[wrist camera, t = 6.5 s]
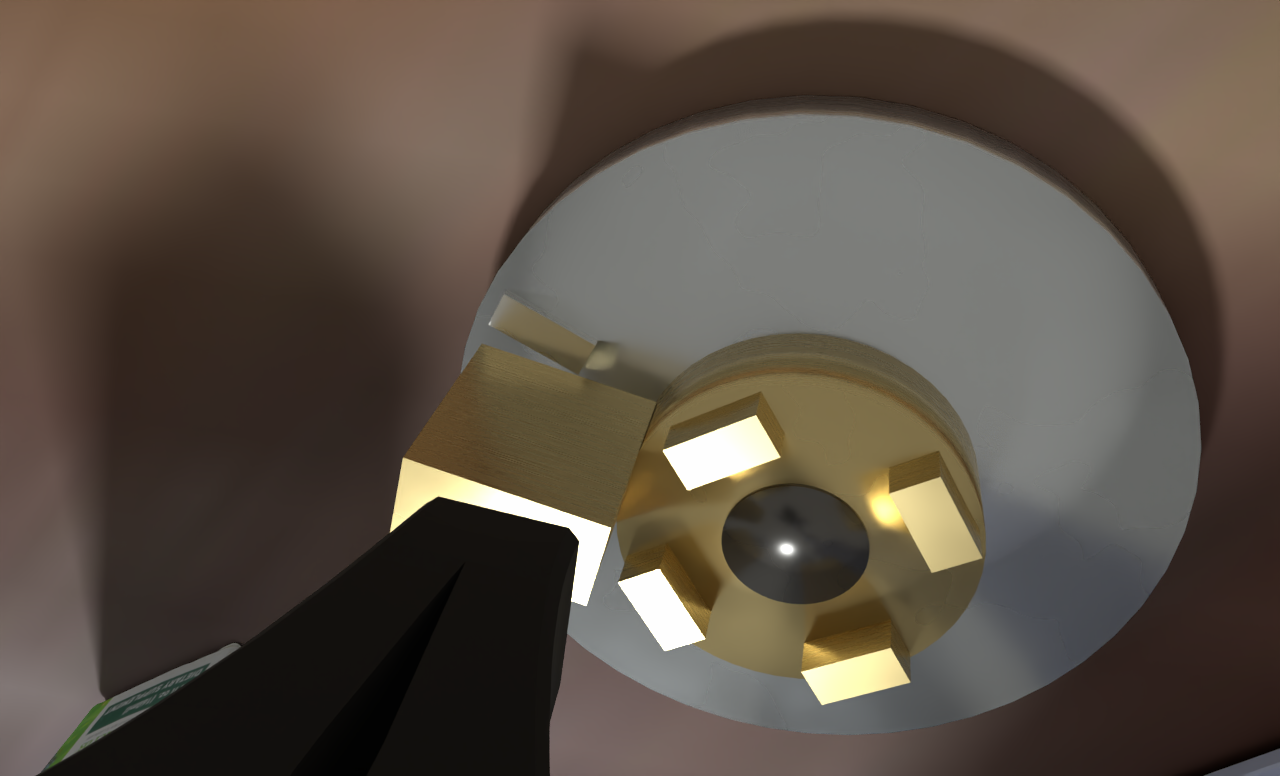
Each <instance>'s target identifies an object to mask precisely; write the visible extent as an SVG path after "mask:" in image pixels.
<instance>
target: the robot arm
mask: <svg viewBox="0 0 1280 776" xmlns="http://www.w3.org/2000/svg"><path fill="white" fill-rule="evenodd" d="M579 543H580V541H579V540H578V538H577V537H576V536H575V534H574V533H573V532H572V530H571V529H570V528H569V527H565V526H560V525H556V524H552V523H548V522H544V521H540V520H535V519H531V518H527V517H523V516H519V515H514V514H510V513H506V512H502V511H498V510H494V509H489V508H485V507H481V506H477V505H473V504H468V503H464V502H460V501H456V500H452V499H448V498H443V497H439V496H438V497H436V498H434V499H433V500H431V501H429V502H427V503H426V504H424V505H423V506H422V507H421V508H420V509H418V510H417V511H416V512H415V513H413V514H412V515H411V516H410V517H409V518H407V519H406V520H405V521H404V522H402V523H401V524H400V525H399V526H398V527H396V528H395V529H394V530H393V531H392V532H390V533H389V534H388V535H387V536H385V537H384V538H383V539H382V540H381V541H379V542H378V543H377V544H376V545H374V546H373V547H372V548H371V549H369V550H368V551H367V552H366V553H364V554H363V555H362V556H361V557H359V558H358V559H357V560H356V561H354V562H353V563H352V564H351V565H349V566H348V567H347V568H345V569H344V570H343V571H342V572H340V573H339V574H338V575H337V576H335V577H334V578H333V579H331V580H330V581H329V582H328V583H326V584H325V585H324V586H322V587H321V588H320V589H318V590H317V591H316V592H314V593H313V594H312V595H310V596H309V597H308V598H306V599H305V600H304V601H302V602H301V603H300V604H298V605H297V606H296V607H294V608H293V609H292V610H290V611H289V612H287V613H286V614H285V615H283V616H282V617H281V618H279V619H278V620H277V621H275V622H274V623H273V624H271V625H270V626H269V627H267V628H266V629H265V630H263V631H262V632H261V633H259V634H258V635H256V636H255V637H254V638H252V639H251V640H249V641H248V642H247V643H245V644H244V645H242V646H241V647H240V648H238V649H237V650H235V651H234V652H232V653H231V654H229V655H228V656H226V657H225V658H223V659H222V660H220V661H219V662H217V663H216V664H214V665H213V666H211V667H210V668H208V669H207V670H205V671H204V672H203V673H201V674H200V675H198V676H197V677H195V678H194V679H192V680H191V681H189V682H188V683H186V684H185V685H183V686H182V687H180V688H179V689H177V690H176V691H174V692H173V693H171V694H170V695H168V696H167V697H165V698H164V699H162V700H161V701H159V702H158V703H156V704H155V705H153V706H152V707H150V708H148V709H147V710H145V711H144V712H142V713H141V714H139V715H137V716H136V717H134V718H132V719H131V720H129V721H128V722H126V723H124V724H123V725H121V726H120V727H118V728H116V729H115V730H113V731H112V732H110V733H108V734H107V735H105V736H103V737H102V738H100V739H98V740H97V741H95V742H93V743H92V744H90V745H88V746H87V747H85V748H83V749H82V750H80V751H78V752H76V753H75V754H73V755H71V756H69V757H68V758H66V759H64V760H62V761H61V762H59V763H57V764H55V765H54V766H52V767H50V768H48V769H47V770H45V771H43V772H41V773H40V774H38V775H36V776H550V764H549V727H550V719H551V716H552V712H553V708H554V705H555V701H556V697H557V694H558V690H559V686H560V681H561V674H562V667H563V659H564V652H565V645H566V637H567V630H568V623H569V616H570V608H571V601H572V594H573V586H574V579H575V572H576V565H577V557H578V550H579ZM1204 776H1280V749H1277V750H1274V751H1271V752H1269V753H1266V754H1263V755H1260V756H1257V757H1255V758H1252V759H1249V760H1246V761H1243V762H1240V763H1238V764H1235V765H1232V766H1229V767H1226V768H1224V769H1221V770H1218V771H1215V772H1212V773H1210V774H1207V775H1204Z"/></svg>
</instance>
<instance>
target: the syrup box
mask: <svg viewBox="0 0 1280 776" xmlns="http://www.w3.org/2000/svg"><path fill="white" fill-rule="evenodd" d="M240 647H241V646H240V645H239V644H237V643H232V644H229V645H227V646H225V647H223V648H221V649H220V650H219V651H218V652H215V653H212V654H210V655H207V656H205V657H202V658H200V659H198V660H196V661H194V662H192V663H188V664H185V665H182V666H180V667H178V668H176V669H173V670H171V671H169V672H167V673H164V674H162V675H160V676H158V677H156V678H154V679H151V680H149V681H147V682H145V683H142V684H140V685H138V686H136V687H134V688H132V689H130V690H128V691H125V692H123V693H121V694H119V695H117V696H114V697H113V698H111V699H109V700H106V701H104V702H102V703H99V704H97V705H95V706H94V707H93V708H92V709H91V710H90V711H89V713H88V714H87V715H86V717H85V718H84V719H83V720H82V722H81V723H80V724H79V726H78V727H77V728H76V729H75V731H74V732H73V733H72V734H71V736H70V737H69V738H68V739H67V741H66V742H65V743H64V744H63V746H62V747H61V748H60V749H59V750H58V752H57V753H56V754H55V755H54V757H53V758H52V759H51V760H50V762H49V763H48V764H47V765H46V767H45V768H44V769H43V770H42V772H43V771H45V770H47V769H48V768H50V767H52V766H54V765H55V764H57V763H59V762H61V761H62V760H64V759H66V758H68V757H69V756H71V755H73V754H75V753H76V752H78V751H80V750H82V749H83V748H85V747H87V746H88V745H90V744H92V743H93V742H95V741H97V740H98V739H100V738H102V737H103V736H105V735H107V734H108V733H110V732H112V731H113V730H115V729H116V728H118V727H120V726H121V725H123V724H124V723H126V722H128V721H129V720H131V719H132V718H134V717H136V716H137V715H139V714H141V713H142V712H144V711H145V710H147V709H148V708H150V707H152V706H153V705H155V704H156V703H158V702H159V701H161V700H162V699H164V698H165V697H167V696H168V695H170V694H171V693H173V692H174V691H176V690H177V689H179V688H180V687H182V686H183V685H185V684H186V683H188V682H189V681H191V680H192V679H194V678H195V677H197V676H198V675H200V674H201V673H203V672H204V671H205V670H207V669H208V668H210V667H211V666H213V665H214V664H216V663H217V662H219V661H220V660H222V659H223V658H225V657H226V656H228V655H229V654H231V653H232V652H234V651H235V650H237V649H238V648H240Z"/></svg>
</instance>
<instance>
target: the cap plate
mask: <svg viewBox="0 0 1280 776" xmlns="http://www.w3.org/2000/svg"><path fill="white" fill-rule="evenodd" d="M799 333H800V334H814V335H826V336H831V337H836V338H842V339H847V340H850V341H854V342H857V343H860V344H863V345H867V346H870V347H872V348H875V349H877V350H879V351H881V352H884V353H886V354H888V355H890V356H893V357H894V358H896V359H898V360H899V361H901V362H903V363H904V364H906V365H908V366H909V367H911V368H913V369H914V370H915V371H917V372H918V373H919V374H920V375H922V376H923V377H924V378H926V379H927V380H928V381H929V382H931V383H932V384H933V385H934V386H935V387H936V388H937V389H938V390H939V392H940V393H941V394H942V395H943V396H944V397H945V398H946V399H947V400H948V401H949V403H950V404H951V406H952V407H953V408H954V410H955V411H956V412H957V414H958V415H959V417H960V418H961V420H962V422H963V424H964V426H965V428H966V430H967V432H968V434H969V436H970V439H971V442H972V445H973V448H974V451H975V454H976V459H977V465H978V471H979V479H980V488H981V496H982V505H983V514H984V522H985V531H986V556H985V562H984V567H983V573H982V576H981V579H980V582H979V585H978V587H977V590H976V592H975V594H974V596H973V598H972V600H971V602H970V603H969V605H968V607H967V609H966V610H965V611H964V613H963V614H962V615H961V616H960V618H959V619H958V620H957V622H956V623H955V624H954V625H953V626H952V627H951V628H950V629H949V630H948V631H947V632H946V633H945V634H944V635H943V636H942V637H941V638H939V639H938V640H937V641H935V642H934V643H933V644H931V645H930V646H928V647H927V648H926V649H924V650H923V651H921V652H919V653H917V654H916V655H914V656H912V657H910V670H911V683H907V684H903V685H899V686H895V687H891V688H887V689H883V690H879V691H875V692H871V693H867V694H863V695H859V696H855V697H851V698H847V699H844V700H840V701H836V702H832V703H828V704H824V705H822V704H821V703H820V701H819V700H818V698H817V696H816V695H815V693H814V692H813V690H812V688H811V687H810V685H809V684H808V682H807V680H806V679H797V678H789V677H781V676H774V675H770V674H765V673H761V672H757V671H753V670H750V669H747V668H743V667H740V666H737V665H734V664H732V663H729V662H727V661H725V660H722V659H720V658H718V657H716V656H713V655H711V654H710V653H708V652H706V651H704V650H702V649H701V648H699V647H697V646H695V645H694V644H692V643H690V644H687V645H683V646H680V647H677V648H673V649H670V650H666V651H664V649H663V648H662V646H661V645H660V643H659V642H658V640H657V639H656V638H655V636H654V635H653V633H652V632H651V630H650V629H649V627H648V626H647V624H646V623H645V621H644V620H643V618H642V617H641V616H640V614H639V613H638V611H637V610H636V608H635V607H634V605H633V604H632V602H631V601H630V599H629V598H628V596H627V595H626V594H625V592H624V591H623V589H622V588H621V586H620V585H619V583H618V581H619V578H620V575H621V572H622V569H623V566H624V560H623V558H622V555H621V551H620V547H619V542H618V537H617V521H616V524H615V527H614V529H613V532H612V535H611V538H610V540H609V543H608V546H607V549H606V552H605V554H604V557H603V560H602V563H601V566H600V568H599V571H598V574H597V577H596V579H595V582H594V585H593V588H592V591H591V593H590V596H589V599H588V602H587V605H583V604H580V603H577V602H574V601H571V608H570V616H569V623H568V630H567V634H569V635H570V636H571V637H572V638H573V639H574V640H576V641H577V642H578V643H579V644H580V645H581V646H583V647H584V648H585V649H587V650H588V651H589V652H591V653H592V654H594V655H595V656H597V657H598V658H600V659H601V660H602V661H604V662H605V663H607V664H608V665H610V666H611V667H613V668H614V669H615V670H617V671H619V672H621V673H622V674H624V675H626V676H628V677H630V678H631V679H633V680H635V681H637V682H639V683H640V684H642V685H644V686H646V687H648V688H649V689H651V690H654V691H656V692H658V693H660V694H663V695H665V696H667V697H670V698H672V699H674V700H676V701H679V702H681V703H683V704H686V705H688V706H691V707H694V708H697V709H700V710H703V711H706V712H709V713H712V714H715V715H718V716H721V717H724V718H728V719H732V720H736V721H740V722H745V723H749V724H753V725H758V726H762V727H766V728H774V729H781V730H788V731H796V732H803V733H816V734H839V735H858V734H878V733H893V732H900V731H907V730H914V729H921V728H928V727H933V726H937V725H941V724H945V723H949V722H953V721H957V720H961V719H965V718H969V717H973V716H976V715H979V714H981V713H984V712H987V711H990V710H992V709H995V708H998V707H1001V706H1003V705H1006V704H1009V703H1012V702H1014V701H1016V700H1018V699H1020V698H1022V697H1024V696H1026V695H1028V694H1030V693H1032V692H1034V691H1036V690H1038V689H1040V688H1042V687H1044V686H1046V685H1048V684H1050V683H1051V682H1053V681H1055V680H1056V679H1058V678H1059V677H1061V676H1062V675H1064V674H1065V673H1067V672H1068V671H1070V670H1072V669H1073V668H1075V667H1076V666H1078V665H1079V664H1081V663H1082V662H1084V661H1085V660H1086V659H1088V658H1089V657H1090V656H1091V655H1092V654H1093V653H1095V652H1096V651H1097V650H1098V649H1099V648H1101V647H1102V646H1103V645H1104V644H1105V643H1107V642H1108V641H1109V640H1110V639H1111V638H1112V637H1114V636H1115V635H1116V634H1117V633H1118V632H1119V631H1120V630H1121V628H1122V627H1123V626H1124V625H1125V624H1126V623H1127V622H1128V621H1129V620H1130V619H1131V617H1132V616H1133V615H1134V614H1135V613H1136V612H1137V611H1138V610H1139V609H1140V608H1141V606H1142V605H1143V604H1144V603H1145V601H1146V600H1147V598H1148V597H1149V595H1150V594H1151V592H1152V591H1153V589H1154V588H1155V587H1156V585H1157V584H1158V582H1159V581H1160V579H1161V578H1162V576H1163V575H1164V573H1165V572H1166V570H1167V568H1168V566H1169V564H1170V562H1171V560H1172V558H1173V556H1174V554H1175V551H1176V549H1177V547H1178V545H1179V543H1180V541H1181V539H1182V537H1183V534H1184V532H1185V529H1186V526H1187V522H1188V519H1189V515H1190V512H1191V508H1192V505H1193V501H1194V498H1195V494H1196V491H1197V482H1198V473H1199V464H1200V455H1201V434H1200V417H1199V403H1198V399H1197V394H1196V390H1195V386H1194V382H1193V377H1192V373H1191V369H1190V365H1189V360H1188V357H1187V355H1186V353H1185V350H1184V348H1183V346H1182V343H1181V341H1180V338H1179V336H1178V334H1177V331H1176V329H1175V327H1174V324H1173V322H1172V319H1171V317H1170V315H1169V313H1168V311H1167V308H1166V306H1165V304H1164V302H1163V300H1162V298H1161V296H1160V294H1159V292H1158V290H1157V288H1156V286H1155V284H1154V282H1153V280H1152V279H1151V277H1150V275H1149V274H1148V272H1147V271H1146V269H1145V267H1144V266H1143V264H1142V263H1141V261H1140V259H1139V258H1138V256H1137V255H1136V253H1135V251H1134V250H1133V248H1132V247H1131V245H1130V243H1129V242H1128V241H1127V240H1126V239H1125V237H1124V236H1123V235H1122V234H1121V233H1120V232H1119V231H1118V229H1117V228H1116V227H1115V226H1114V225H1113V224H1112V222H1111V221H1110V220H1109V219H1108V218H1107V217H1106V216H1105V214H1104V213H1103V212H1102V211H1101V210H1100V209H1099V207H1098V206H1097V205H1096V204H1095V203H1093V202H1092V201H1091V200H1090V199H1089V198H1088V197H1086V196H1085V195H1084V194H1083V193H1082V192H1081V191H1079V190H1078V189H1077V188H1076V187H1075V186H1073V185H1072V184H1071V183H1070V182H1069V181H1068V180H1066V179H1065V178H1064V177H1063V176H1062V175H1061V174H1059V173H1058V172H1057V171H1055V170H1054V169H1052V168H1051V167H1049V166H1047V165H1046V164H1044V163H1043V162H1041V161H1040V160H1038V159H1036V158H1035V157H1033V156H1032V155H1030V154H1028V153H1027V152H1025V151H1024V150H1022V149H1021V148H1019V147H1017V146H1016V145H1014V144H1013V143H1010V142H1008V141H1006V140H1004V139H1002V138H999V137H997V136H995V135H993V134H991V133H988V132H986V131H984V130H982V129H980V128H977V127H975V126H973V125H971V124H969V123H966V122H964V121H961V120H958V119H954V118H951V117H948V116H944V115H941V114H938V113H934V112H931V111H928V110H924V109H921V108H918V107H914V106H910V105H904V104H898V103H892V102H886V101H880V100H874V99H868V98H861V97H845V96H814V95H800V96H790V97H780V98H770V99H759V100H750V101H746V102H742V103H737V104H733V105H729V106H724V107H720V108H716V109H711V110H707V111H703V112H699V113H697V114H694V115H691V116H689V117H686V118H683V119H681V120H678V121H675V122H673V123H670V124H667V125H665V126H662V127H660V128H657V129H654V130H652V131H650V132H649V133H647V134H645V135H643V136H641V137H639V138H637V139H636V140H634V141H632V142H630V143H628V144H626V145H625V146H623V147H621V148H619V149H617V150H615V151H614V152H612V153H610V154H609V155H608V156H606V157H605V158H604V159H602V160H601V161H600V162H598V163H597V164H595V165H594V166H593V167H591V168H590V169H589V170H587V171H586V172H585V173H583V174H582V175H581V176H579V177H578V178H577V179H575V180H574V181H573V182H572V183H571V184H570V185H569V186H568V187H567V188H566V189H565V190H564V191H563V192H562V193H561V194H560V195H559V196H558V197H557V198H556V199H555V200H554V201H553V202H552V203H551V204H550V205H549V206H548V207H547V208H546V209H545V210H544V211H543V212H542V214H541V215H540V216H539V217H538V219H537V220H536V221H535V223H534V224H533V225H532V227H531V228H530V229H529V231H528V232H527V233H526V235H525V236H524V237H523V239H522V240H521V241H520V243H519V244H518V245H517V247H516V248H515V249H514V251H513V252H512V254H511V255H510V256H509V258H508V259H507V260H506V262H505V263H504V264H503V266H502V267H501V268H500V270H499V271H498V273H497V274H496V276H495V278H494V280H493V282H492V284H491V286H490V288H489V290H488V291H487V293H486V295H485V297H484V299H483V301H482V303H481V305H480V307H479V309H478V311H477V314H476V317H475V320H474V323H473V326H472V329H471V332H470V335H469V338H468V341H467V343H466V346H465V352H464V357H463V363H462V369H461V373H462V372H463V370H464V369H465V367H466V366H467V364H468V363H469V361H470V360H471V358H472V357H473V356H474V354H475V353H476V351H477V350H478V348H479V347H480V345H481V344H485V345H488V346H491V347H494V348H497V349H500V350H503V351H506V352H509V353H512V354H515V355H518V356H521V357H524V358H527V359H530V360H533V361H536V362H539V363H542V364H545V365H548V366H551V367H554V368H557V369H560V370H563V371H566V372H569V373H572V374H575V375H578V376H581V377H584V378H587V379H590V380H593V381H596V382H599V383H602V384H605V385H608V386H611V387H614V388H617V389H620V390H623V391H625V392H628V393H631V394H634V395H637V396H640V397H643V398H646V399H649V400H652V401H655V402H656V401H657V399H658V398H659V397H660V395H661V394H662V392H663V391H664V390H665V389H666V388H667V387H668V386H669V385H670V383H671V382H672V381H673V380H674V379H675V378H676V377H677V376H679V375H680V374H681V373H682V372H684V371H685V370H686V369H687V368H688V367H690V366H691V365H692V364H694V363H696V362H697V361H699V360H701V359H702V358H704V357H706V356H707V355H709V354H711V353H713V352H715V351H718V350H720V349H722V348H724V347H727V346H729V345H732V344H735V343H739V342H742V341H745V340H749V339H752V338H758V337H764V336H770V335H778V334H799Z"/></svg>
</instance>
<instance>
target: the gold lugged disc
mask: <svg viewBox="0 0 1280 776" xmlns="http://www.w3.org/2000/svg"><path fill="white" fill-rule="evenodd" d="M438 496H439V497H443V498H448V499H452V500H456V501H460V502H464V503H468V504H473V505H477V506H481V507H485V508H489V509H494V510H498V511H502V512H506V513H510V514H514V515H519V516H523V517H527V518H531V519H535V520H540V521H544V522H548V523H552V524H556V525H560V526H565V527H569V528H570V529H571V530H572V532H573V533H574V534H575V536H576V537H577V538H578V540H579V541H580V543H579V550H578V557H577V565H576V572H575V579H574V586H573V594H572V601H574V602H577V603H580V604H583V605H587V602H588V599H589V596H590V593H591V591H592V588H593V585H594V582H595V579H596V577H597V574H598V571H599V568H600V566H601V563H602V560H603V557H604V554H605V552H606V549H607V546H608V543H609V540H610V538H611V535H612V532H613V529H614V527H615V524H616V521H617V537H618V542H619V547H620V551H621V555H622V558H623V560H624V566H623V569H622V572H621V575H620V578H619V581H618V583H619V585H620V586H621V588H622V589H623V591H624V592H625V594H626V595H627V596H628V598H629V599H630V601H631V602H632V604H633V605H634V607H635V608H636V610H637V611H638V613H639V614H640V616H641V617H642V618H643V620H644V621H645V623H646V624H647V626H648V627H649V629H650V630H651V632H652V633H653V635H654V636H655V638H656V639H657V640H658V642H659V643H660V645H661V646H662V648H663V649H664V651H666V650H670V649H673V648H677V647H680V646H683V645H687V644H690V643H692V644H694V645H695V646H697V647H699V648H701V649H702V650H704V651H706V652H708V653H710V654H711V655H713V656H716V657H718V658H720V659H722V660H725V661H727V662H729V663H732V664H734V665H737V666H740V667H743V668H747V669H750V670H753V671H757V672H761V673H765V674H770V675H774V676H781V677H789V678H797V679H806V680H807V682H808V684H809V685H810V687H811V688H812V690H813V692H814V693H815V695H816V696H817V698H818V700H819V701H820V703H821V704H822V705H824V704H828V703H832V702H836V701H840V700H844V699H847V698H851V697H855V696H859V695H863V694H867V693H871V692H875V691H879V690H883V689H887V688H891V687H895V686H899V685H903V684H907V683H911V670H910V657H912V656H914V655H916V654H917V653H919V652H921V651H923V650H924V649H926V648H927V647H928V646H930V645H931V644H933V643H934V642H935V641H937V640H938V639H939V638H941V637H942V636H943V635H944V634H945V633H946V632H947V631H948V630H949V629H950V628H951V627H952V626H953V625H954V624H955V623H956V622H957V620H958V619H959V618H960V616H961V615H962V614H963V613H964V611H965V610H966V609H967V607H968V605H969V603H970V602H971V600H972V598H973V596H974V594H975V592H976V590H977V587H978V585H979V582H980V579H981V576H982V573H983V567H984V562H985V556H986V531H985V522H984V514H983V505H982V496H981V488H980V479H979V471H978V465H977V459H976V454H975V451H974V448H973V445H972V442H971V439H970V436H969V434H968V432H967V430H966V428H965V426H964V424H963V422H962V420H961V418H960V417H959V415H958V414H957V412H956V411H955V410H954V408H953V407H952V406H951V404H950V403H949V401H948V400H947V399H946V398H945V397H944V396H943V395H942V394H941V393H940V392H939V390H938V389H937V388H936V387H935V386H934V385H933V384H932V383H931V382H929V381H928V380H927V379H926V378H924V377H923V376H922V375H920V374H919V373H918V372H917V371H915V370H914V369H913V368H911V367H909V366H908V365H906V364H904V363H903V362H901V361H899V360H898V359H896V358H894V357H893V356H890V355H888V354H886V353H884V352H881V351H879V350H877V349H875V348H872V347H870V346H867V345H863V344H860V343H857V342H854V341H850V340H847V339H842V338H836V337H831V336H826V335H814V334H800V333H799V334H778V335H770V336H764V337H758V338H752V339H749V340H745V341H742V342H739V343H735V344H732V345H729V346H727V347H724V348H722V349H720V350H718V351H715V352H713V353H711V354H709V355H707V356H706V357H704V358H702V359H701V360H699V361H697V362H696V363H694V364H692V365H691V366H690V367H688V368H687V369H686V370H685V371H684V372H682V373H681V374H680V375H679V376H677V377H676V378H675V379H674V380H673V381H672V382H671V383H670V385H669V386H668V387H667V388H666V389H665V390H664V391H663V392H662V394H661V395H660V397H659V398H658V399H657V401H656V402H655V401H652V400H649V399H646V398H643V397H640V396H637V395H634V394H631V393H628V392H625V391H623V390H620V389H617V388H614V387H611V386H608V385H605V384H602V383H599V382H596V381H593V380H590V379H587V378H584V377H581V376H578V375H575V374H572V373H569V372H566V371H563V370H560V369H557V368H554V367H551V366H548V365H545V364H542V363H539V362H536V361H533V360H530V359H527V358H524V357H521V356H518V355H515V354H512V353H509V352H506V351H503V350H500V349H497V348H494V347H491V346H488V345H485V344H481V345H480V347H479V348H478V350H477V351H476V353H475V354H474V356H473V357H472V358H471V360H470V361H469V363H468V364H467V366H466V367H465V369H464V370H463V372H462V373H461V374H460V376H459V377H458V379H457V380H456V382H455V383H454V385H453V386H452V387H451V389H450V390H449V392H448V393H447V395H446V396H445V398H444V399H443V400H442V402H441V403H440V405H439V406H438V408H437V409H436V411H435V412H434V414H433V415H432V416H431V418H430V419H429V421H428V422H427V424H426V425H425V427H424V428H423V429H422V431H421V432H420V434H419V435H418V437H417V438H416V440H415V441H414V442H413V444H412V445H411V447H410V448H409V450H408V451H407V453H406V454H405V456H404V457H403V461H402V467H401V472H400V478H399V484H398V489H397V495H396V501H395V507H394V512H393V518H392V524H391V530H390V532H392V531H393V530H394V529H395V528H396V527H398V526H399V525H400V524H401V523H402V522H404V521H405V520H406V519H407V518H409V517H410V516H411V515H412V514H413V513H415V512H416V511H417V510H418V509H420V508H421V507H422V506H423V505H424V504H426V503H427V502H429V501H431V500H433V499H434V498H436V497H438Z"/></svg>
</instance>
